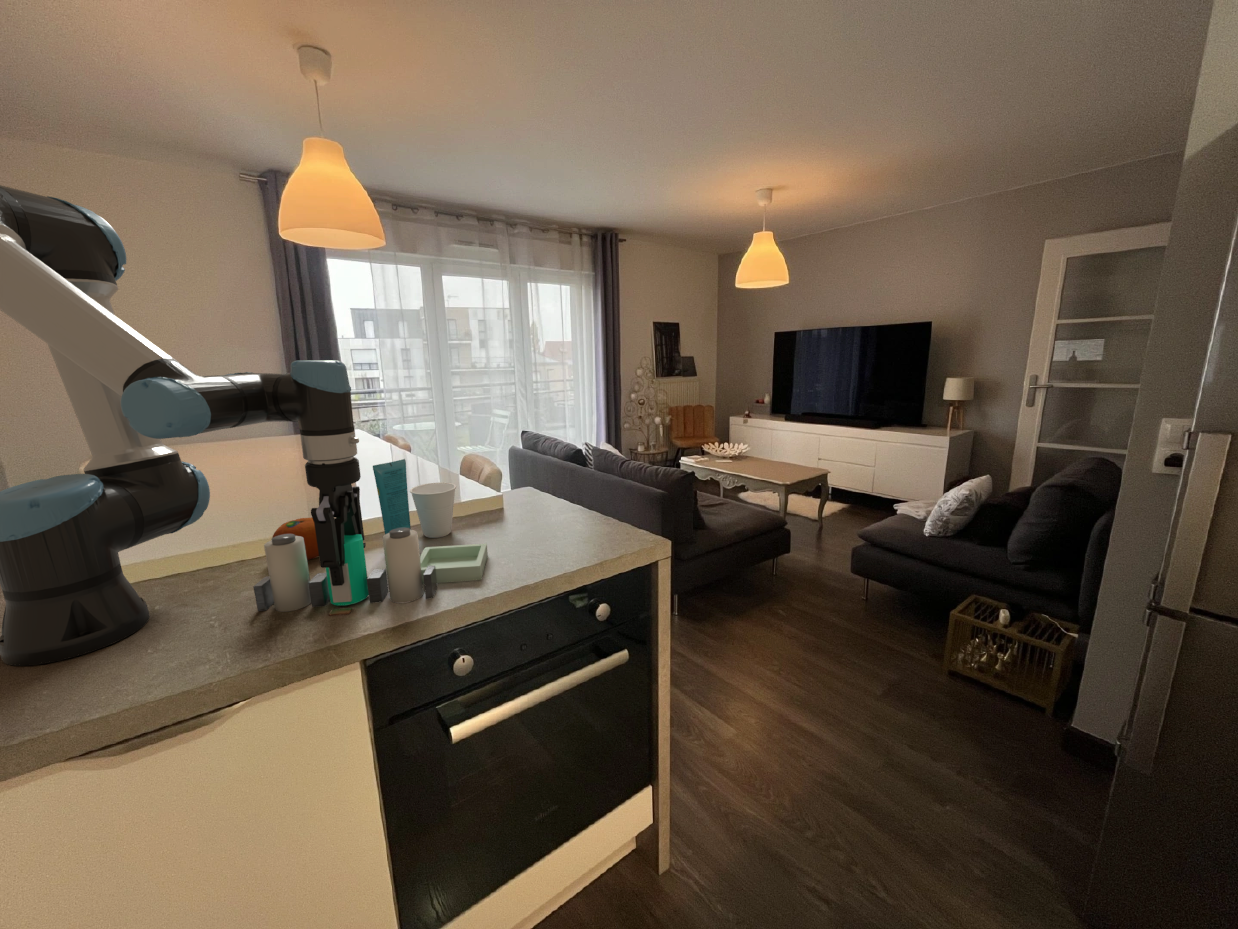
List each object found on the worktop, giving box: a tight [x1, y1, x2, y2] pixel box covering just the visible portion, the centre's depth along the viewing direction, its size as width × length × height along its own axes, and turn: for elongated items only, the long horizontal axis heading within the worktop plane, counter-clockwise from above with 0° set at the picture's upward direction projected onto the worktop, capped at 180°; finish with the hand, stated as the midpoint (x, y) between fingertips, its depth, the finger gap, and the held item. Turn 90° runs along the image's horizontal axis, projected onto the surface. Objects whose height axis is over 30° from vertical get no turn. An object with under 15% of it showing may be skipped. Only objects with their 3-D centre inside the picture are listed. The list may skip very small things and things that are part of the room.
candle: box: [325, 534, 369, 606], centre depth 83 cm, size 6×6×12 cm
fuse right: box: [382, 527, 425, 604], centre depth 84 cm, size 5×5×12 cm
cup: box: [409, 482, 457, 539], centre depth 114 cm, size 10×10×11 cm
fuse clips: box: [253, 566, 438, 617], centre depth 82 cm, size 27×7×4 cm, turn 98°
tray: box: [420, 543, 489, 585], centre depth 95 cm, size 12×11×3 cm
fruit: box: [271, 517, 319, 561], centre depth 101 cm, size 11×10×8 cm
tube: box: [372, 458, 412, 535], centre depth 103 cm, size 7×5×19 cm, turn 156°
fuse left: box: [263, 534, 311, 613], centre depth 82 cm, size 5×5×12 cm
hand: (349, 592), depth 84 cm, fingers closed on candle, 5 cm apart
